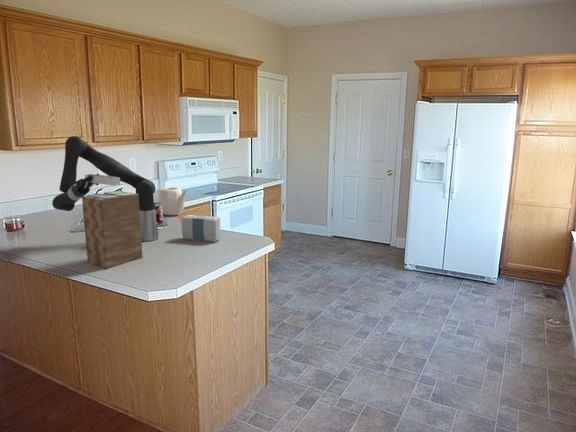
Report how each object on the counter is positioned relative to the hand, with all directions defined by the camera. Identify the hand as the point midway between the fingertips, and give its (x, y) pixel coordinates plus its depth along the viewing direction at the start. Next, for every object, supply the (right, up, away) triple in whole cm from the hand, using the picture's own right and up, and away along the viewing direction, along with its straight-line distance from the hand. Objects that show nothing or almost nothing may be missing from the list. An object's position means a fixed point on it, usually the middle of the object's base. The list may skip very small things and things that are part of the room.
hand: (95, 175), depth 216 cm
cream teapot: (+12, -19, +100) cm, 103 cm away
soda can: (+9, -24, +73) cm, 77 cm away
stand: (+12, -41, -4) cm, 43 cm away
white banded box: (+45, -33, +35) cm, 66 cm away
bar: (+4, -4, -2) cm, 6 cm away
